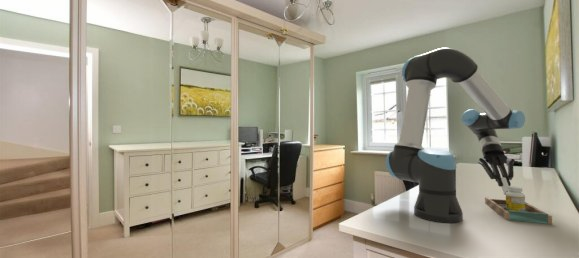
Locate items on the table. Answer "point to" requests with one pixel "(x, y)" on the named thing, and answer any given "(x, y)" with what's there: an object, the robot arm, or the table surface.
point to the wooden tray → (519, 212)
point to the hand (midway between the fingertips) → (507, 192)
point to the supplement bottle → (515, 199)
